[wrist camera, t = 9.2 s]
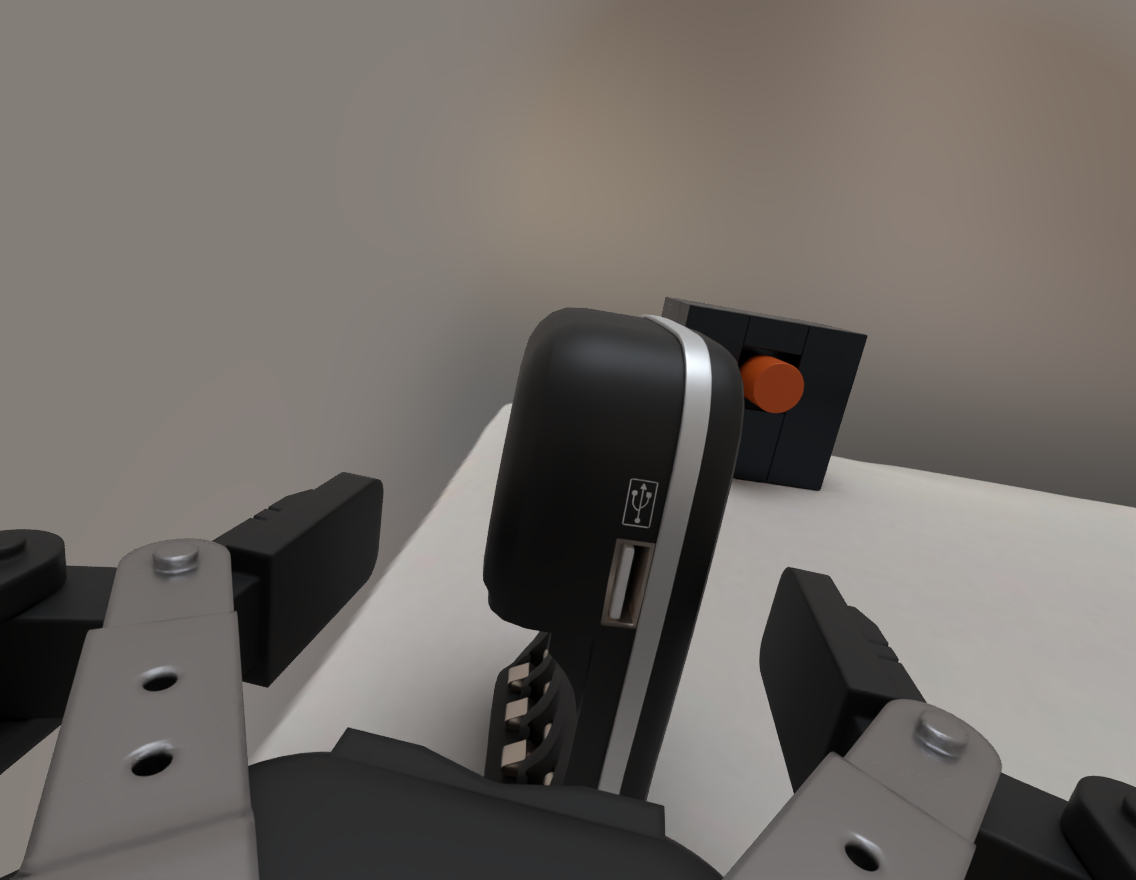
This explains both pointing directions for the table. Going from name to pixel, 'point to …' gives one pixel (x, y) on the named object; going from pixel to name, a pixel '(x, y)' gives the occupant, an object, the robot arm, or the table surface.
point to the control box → (809, 429)
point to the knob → (771, 383)
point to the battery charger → (605, 541)
